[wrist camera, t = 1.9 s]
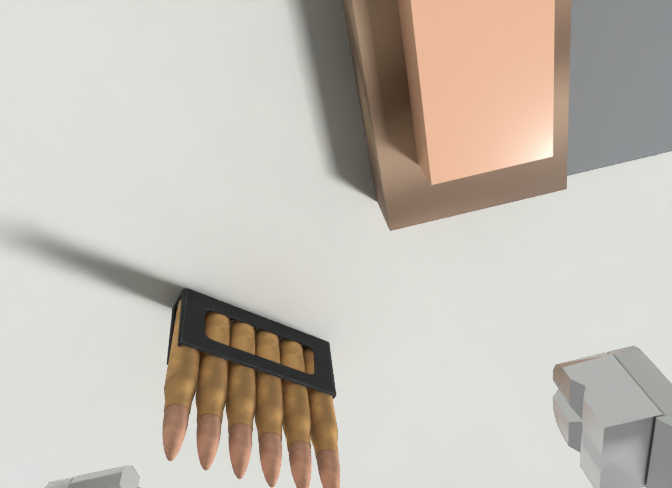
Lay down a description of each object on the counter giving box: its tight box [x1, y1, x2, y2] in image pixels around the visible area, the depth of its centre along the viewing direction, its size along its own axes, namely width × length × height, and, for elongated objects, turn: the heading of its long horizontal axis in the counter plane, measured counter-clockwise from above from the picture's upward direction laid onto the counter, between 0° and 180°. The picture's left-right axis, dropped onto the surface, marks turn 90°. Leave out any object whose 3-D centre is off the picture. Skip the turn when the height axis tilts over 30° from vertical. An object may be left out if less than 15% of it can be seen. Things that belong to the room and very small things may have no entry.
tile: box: [398, 0, 555, 185], centre depth 26 cm, size 9×6×2 cm, turn 11°
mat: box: [567, 0, 672, 176], centre depth 30 cm, size 18×11×1 cm, turn 11°
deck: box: [343, 0, 572, 231], centre depth 28 cm, size 16×10×4 cm, turn 11°
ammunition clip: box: [163, 288, 340, 488], centre depth 33 cm, size 11×2×12 cm, turn 59°
